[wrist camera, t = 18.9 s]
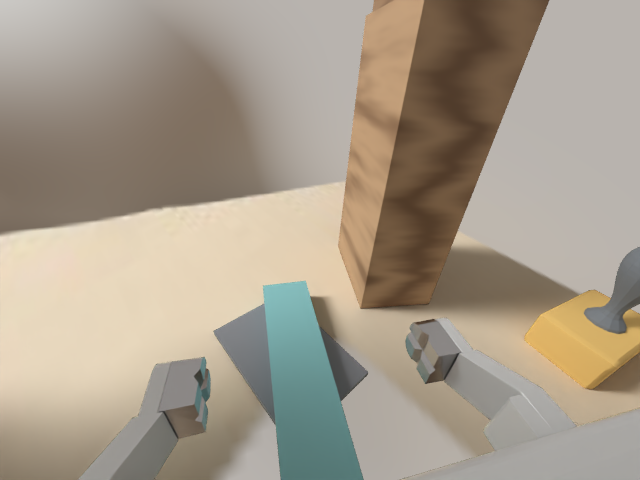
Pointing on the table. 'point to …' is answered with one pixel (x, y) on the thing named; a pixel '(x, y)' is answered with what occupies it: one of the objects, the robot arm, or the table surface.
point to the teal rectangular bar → (305, 391)
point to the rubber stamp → (593, 329)
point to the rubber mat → (254, 363)
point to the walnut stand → (424, 134)
